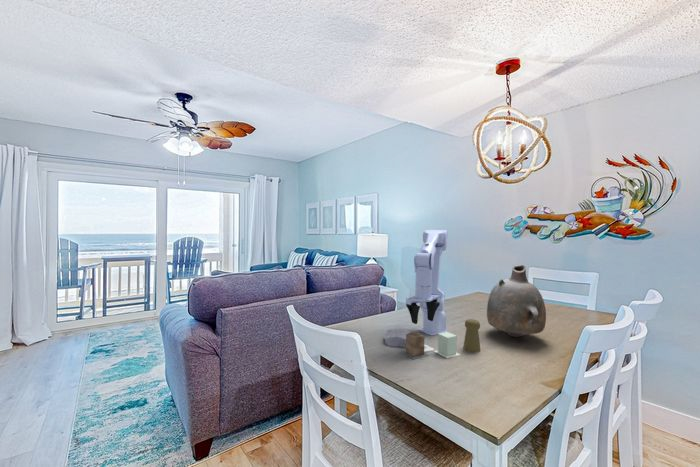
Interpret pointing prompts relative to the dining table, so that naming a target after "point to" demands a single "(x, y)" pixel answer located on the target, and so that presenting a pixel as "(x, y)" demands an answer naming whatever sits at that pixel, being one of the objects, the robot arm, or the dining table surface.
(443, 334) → the sage block
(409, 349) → the walnut block
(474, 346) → the cork
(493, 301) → the jug
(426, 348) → the cream tile
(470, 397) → the dining table surface
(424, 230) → the robot arm
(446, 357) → the tile
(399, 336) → the stone block
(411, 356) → the charcoal mat
